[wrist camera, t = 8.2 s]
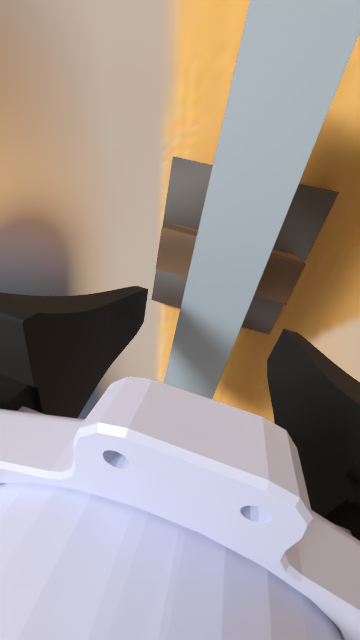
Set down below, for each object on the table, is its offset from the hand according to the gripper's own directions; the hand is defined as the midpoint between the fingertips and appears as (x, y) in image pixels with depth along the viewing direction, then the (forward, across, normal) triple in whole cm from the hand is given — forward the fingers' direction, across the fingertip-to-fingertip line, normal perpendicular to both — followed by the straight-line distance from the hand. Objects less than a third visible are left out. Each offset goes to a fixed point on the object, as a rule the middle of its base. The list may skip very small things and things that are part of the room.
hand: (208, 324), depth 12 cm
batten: (+6, 0, -2) cm, 6 cm away
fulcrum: (+10, 0, -2) cm, 11 cm away
